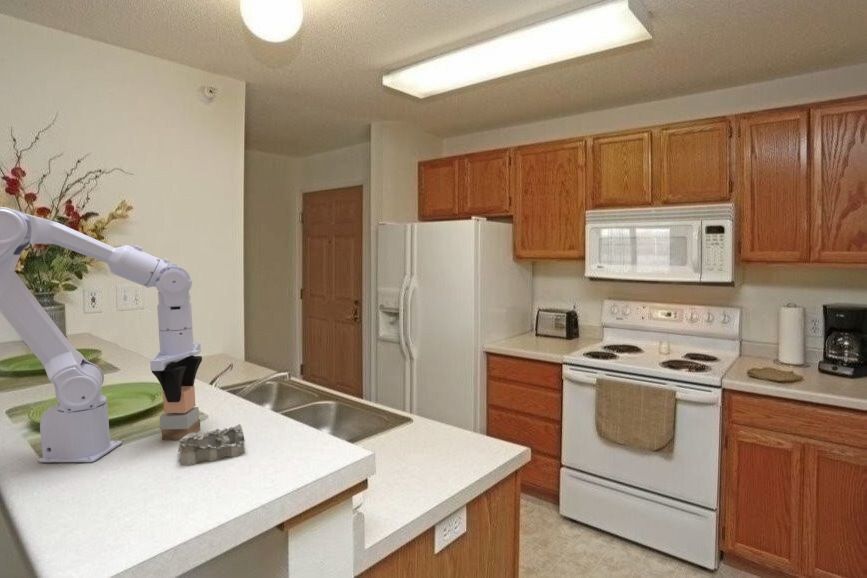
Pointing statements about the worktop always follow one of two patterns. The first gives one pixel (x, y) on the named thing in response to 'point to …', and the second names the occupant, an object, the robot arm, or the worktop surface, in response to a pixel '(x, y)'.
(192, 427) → the tower base
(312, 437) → the worktop surface
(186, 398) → the terracotta cube
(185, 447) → the egg carton
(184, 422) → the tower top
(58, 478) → the worktop surface
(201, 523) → the worktop surface
